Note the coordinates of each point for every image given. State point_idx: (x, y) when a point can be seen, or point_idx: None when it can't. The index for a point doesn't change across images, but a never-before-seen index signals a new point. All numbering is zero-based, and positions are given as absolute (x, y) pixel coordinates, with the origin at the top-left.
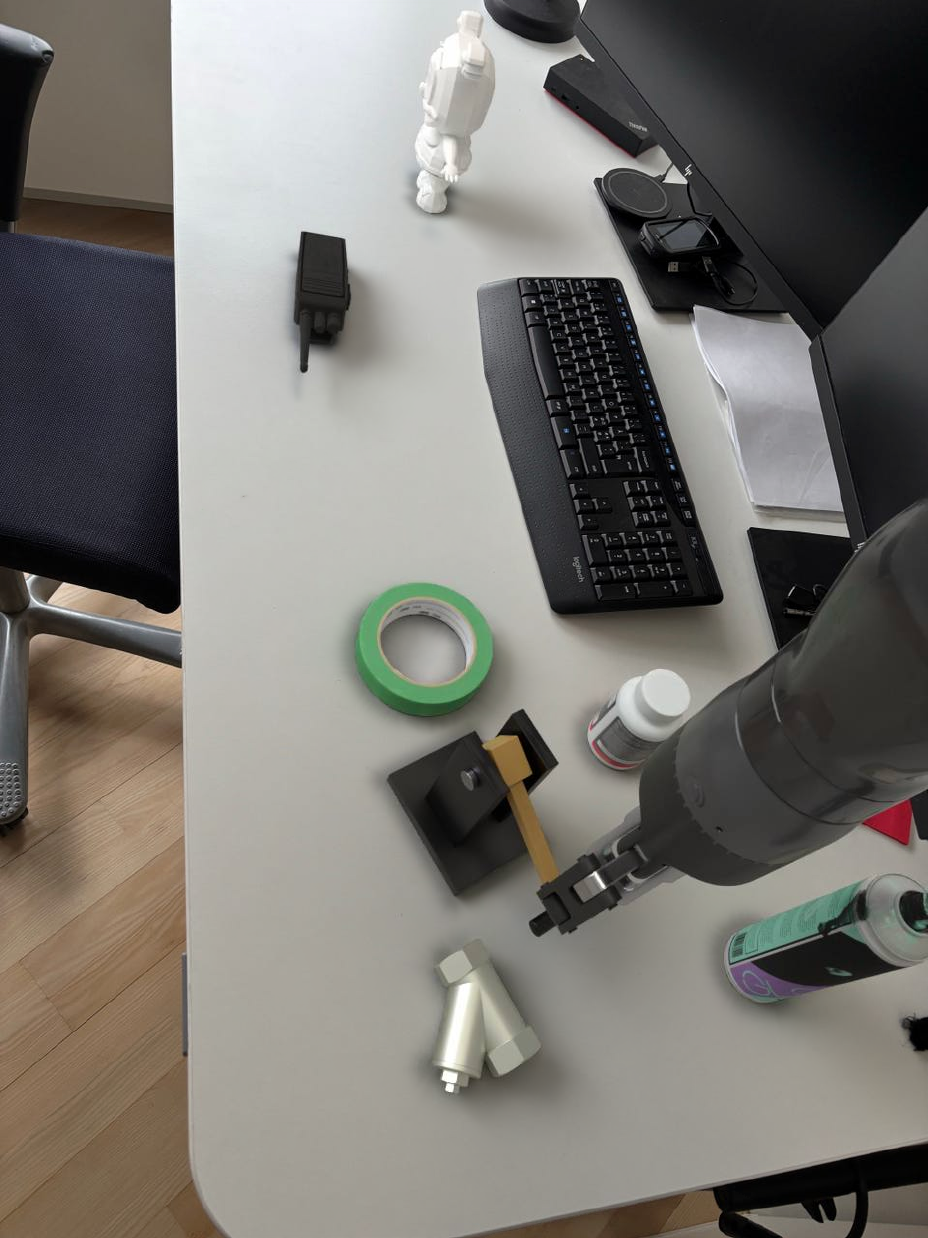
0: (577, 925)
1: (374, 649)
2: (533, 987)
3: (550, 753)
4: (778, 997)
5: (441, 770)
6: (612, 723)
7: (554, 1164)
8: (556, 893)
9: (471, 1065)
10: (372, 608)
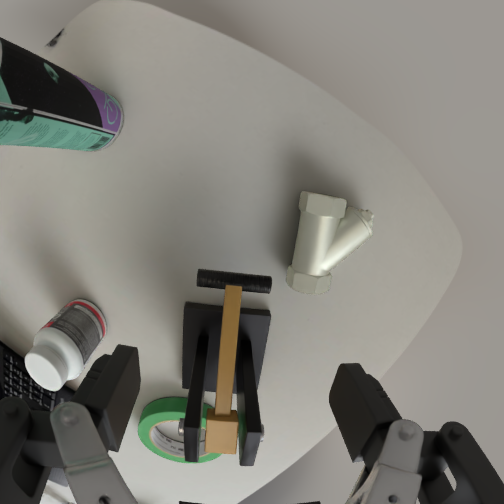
0: (490, 465)
1: None
2: (264, 222)
3: (186, 435)
4: (104, 93)
5: None
6: (88, 356)
7: (333, 124)
8: (434, 477)
9: (361, 222)
10: (202, 461)
